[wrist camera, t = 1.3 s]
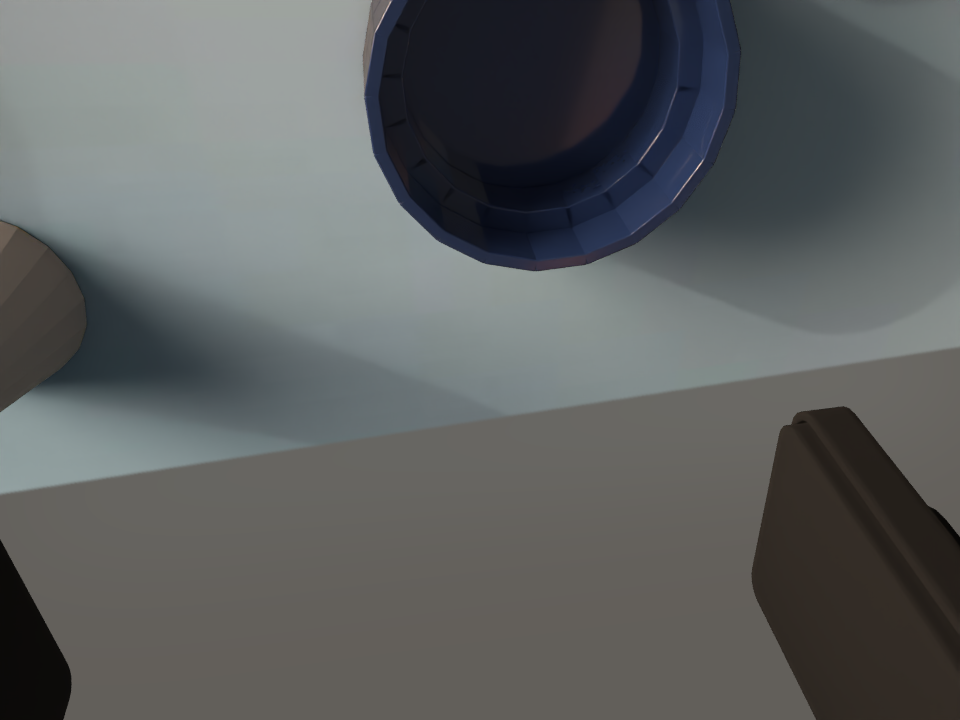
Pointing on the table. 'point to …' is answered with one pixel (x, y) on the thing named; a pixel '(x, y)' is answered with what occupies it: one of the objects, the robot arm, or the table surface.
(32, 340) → the lava lamp
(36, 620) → the robot arm
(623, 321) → the table surface
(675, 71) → the bowl
